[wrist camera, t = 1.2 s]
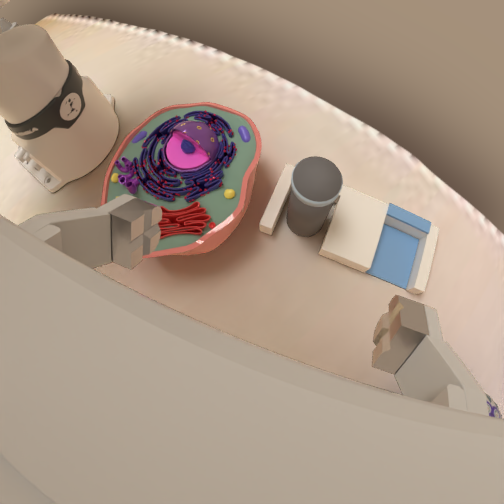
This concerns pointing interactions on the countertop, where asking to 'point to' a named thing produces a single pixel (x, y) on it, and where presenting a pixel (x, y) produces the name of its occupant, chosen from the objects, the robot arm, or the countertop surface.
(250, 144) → the cell model
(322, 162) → the stub
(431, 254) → the cream holder tray
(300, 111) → the countertop surface
